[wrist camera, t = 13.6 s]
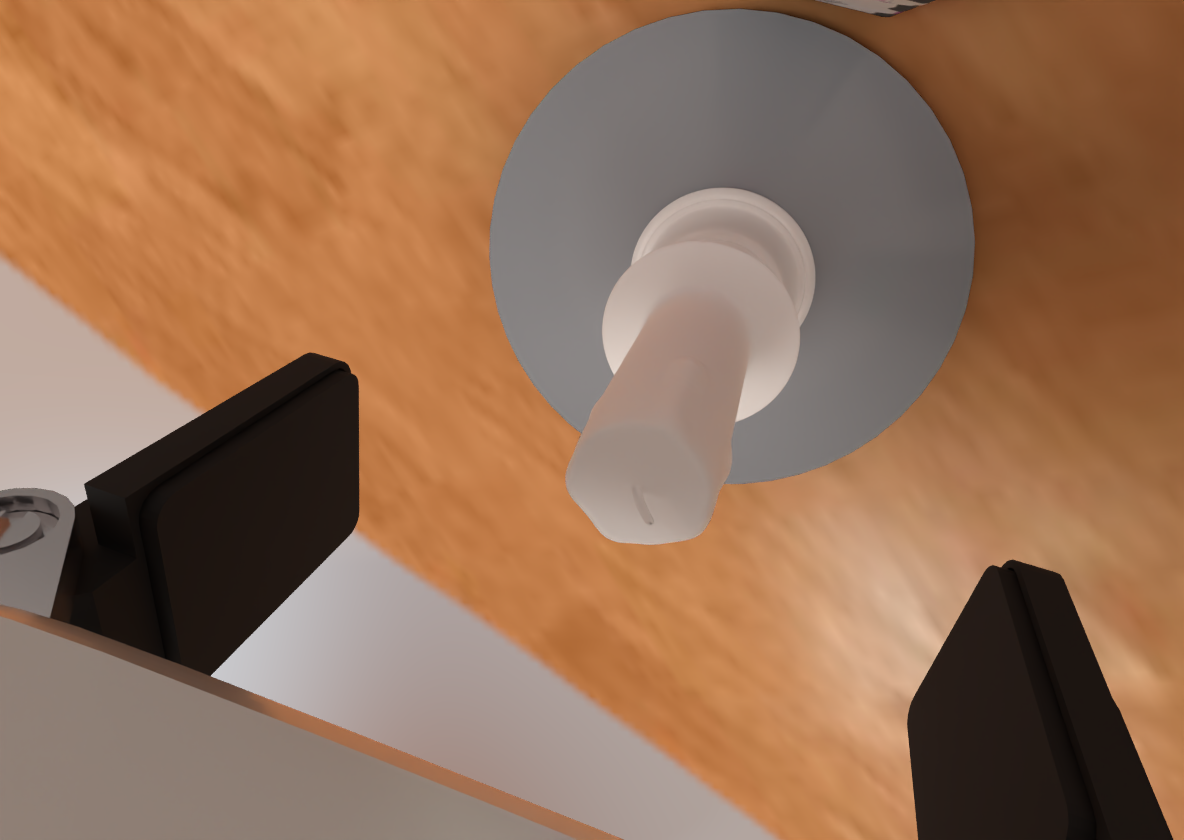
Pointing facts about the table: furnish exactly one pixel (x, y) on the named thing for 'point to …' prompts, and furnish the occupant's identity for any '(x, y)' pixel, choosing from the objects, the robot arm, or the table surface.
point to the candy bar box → (879, 5)
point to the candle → (690, 361)
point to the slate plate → (760, 165)
